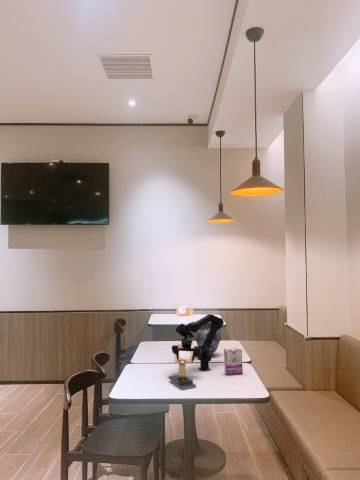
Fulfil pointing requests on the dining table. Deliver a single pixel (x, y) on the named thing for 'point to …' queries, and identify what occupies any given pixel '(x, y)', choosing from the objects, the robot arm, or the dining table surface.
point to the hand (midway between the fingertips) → (184, 361)
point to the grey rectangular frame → (182, 382)
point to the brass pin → (182, 370)
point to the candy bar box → (233, 361)
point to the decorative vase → (202, 336)
